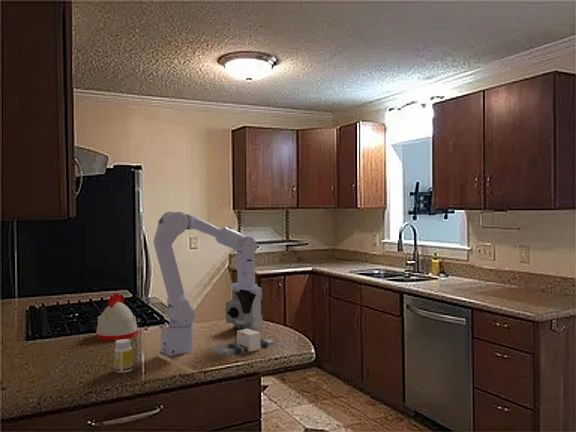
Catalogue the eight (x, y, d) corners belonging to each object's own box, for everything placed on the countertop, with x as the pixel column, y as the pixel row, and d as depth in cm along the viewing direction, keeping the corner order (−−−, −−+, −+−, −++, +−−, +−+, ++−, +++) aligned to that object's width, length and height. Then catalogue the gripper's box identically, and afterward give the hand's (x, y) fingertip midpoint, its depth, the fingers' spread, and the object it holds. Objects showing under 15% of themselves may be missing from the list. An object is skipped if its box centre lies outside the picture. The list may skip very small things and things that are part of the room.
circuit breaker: (223, 334, 185) (222, 292, 184) (245, 325, 197) (244, 286, 197) (241, 336, 181) (240, 293, 181) (262, 327, 194) (261, 287, 193)
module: (249, 351, 160) (249, 334, 160) (237, 346, 165) (236, 330, 165) (260, 349, 162) (260, 332, 162) (247, 344, 168) (247, 328, 168)
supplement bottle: (134, 367, 149) (133, 338, 149) (130, 373, 145) (129, 342, 144) (117, 367, 149) (116, 338, 149) (112, 373, 145) (111, 343, 144)
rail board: (227, 360, 155) (227, 351, 155) (206, 351, 164) (206, 343, 164) (280, 347, 168) (280, 339, 168) (258, 339, 177) (258, 332, 177)
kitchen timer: (87, 339, 181) (86, 296, 181) (113, 329, 194) (112, 289, 194) (121, 342, 177) (120, 298, 176) (145, 332, 190) (144, 291, 189)
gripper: (268, 273, 170) (269, 315, 170) (243, 269, 181) (244, 308, 181) (251, 275, 165) (251, 318, 166) (226, 271, 176) (227, 311, 177)
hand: (246, 313), depth 173 cm, fingers closed
